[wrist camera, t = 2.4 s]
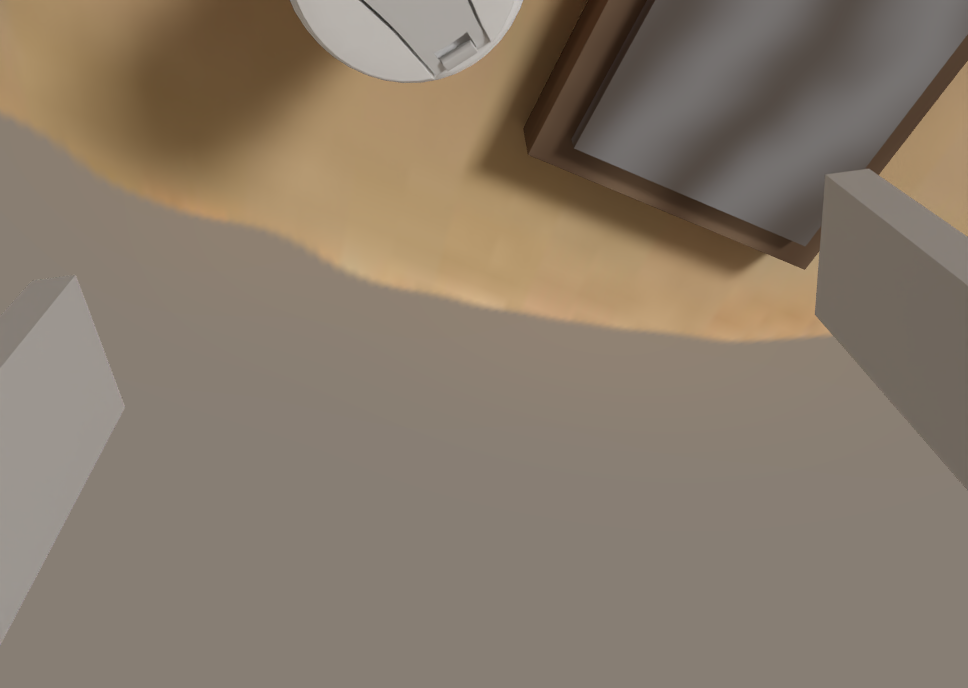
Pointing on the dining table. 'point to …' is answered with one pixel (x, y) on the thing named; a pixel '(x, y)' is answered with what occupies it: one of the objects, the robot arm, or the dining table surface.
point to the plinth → (744, 104)
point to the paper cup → (407, 34)
